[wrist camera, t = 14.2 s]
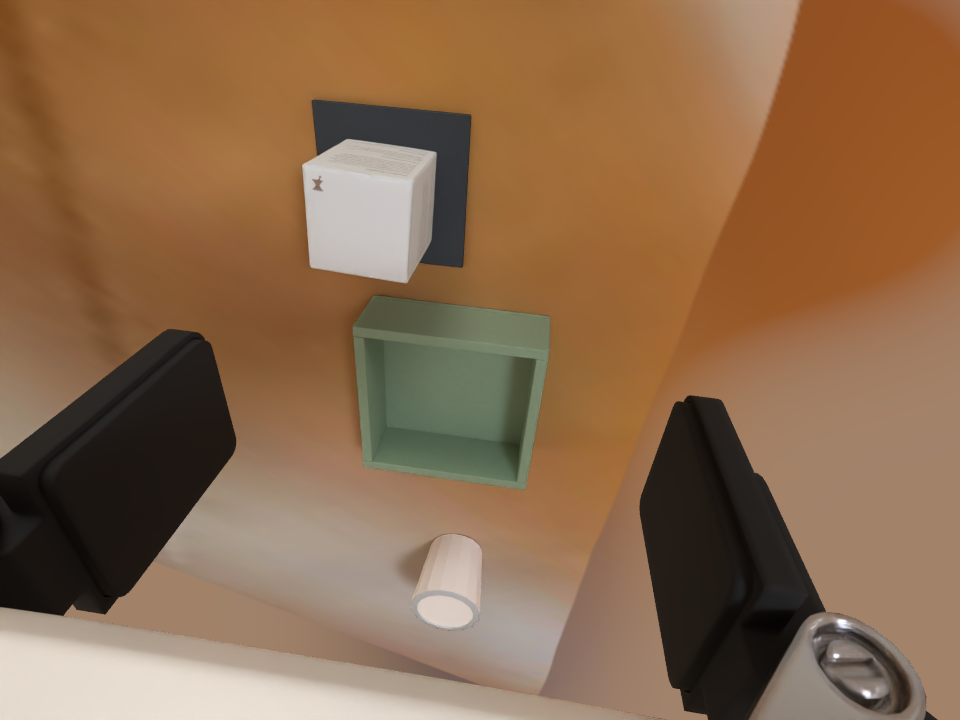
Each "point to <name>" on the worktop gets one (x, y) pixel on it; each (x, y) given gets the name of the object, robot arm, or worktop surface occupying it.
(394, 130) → the mat
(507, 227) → the worktop surface
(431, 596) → the shot glass
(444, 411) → the green square tray
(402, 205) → the product box
